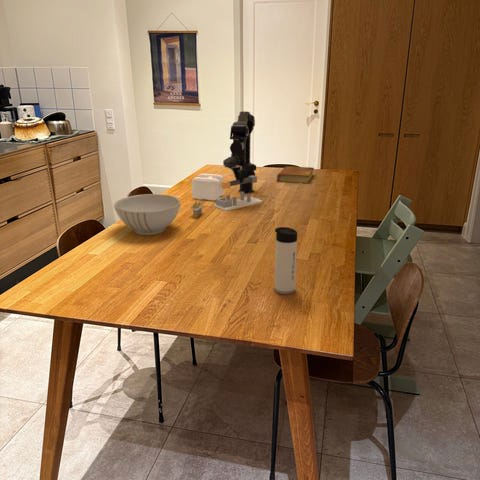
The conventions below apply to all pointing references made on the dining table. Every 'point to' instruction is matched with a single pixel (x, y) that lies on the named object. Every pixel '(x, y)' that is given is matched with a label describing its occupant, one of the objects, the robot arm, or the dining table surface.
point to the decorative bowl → (148, 212)
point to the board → (236, 202)
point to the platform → (197, 208)
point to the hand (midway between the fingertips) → (239, 182)
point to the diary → (295, 175)
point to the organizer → (207, 187)
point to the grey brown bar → (238, 182)
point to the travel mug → (285, 260)
